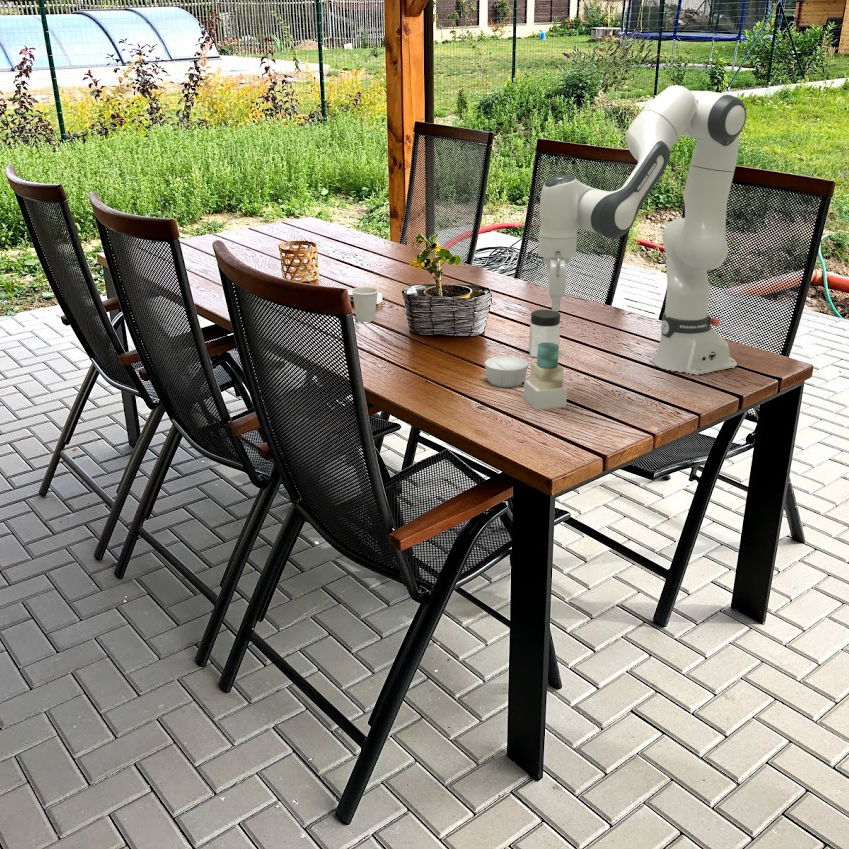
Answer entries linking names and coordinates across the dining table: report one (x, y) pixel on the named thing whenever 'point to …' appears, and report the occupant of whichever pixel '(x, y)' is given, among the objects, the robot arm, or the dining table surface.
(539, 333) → the jar
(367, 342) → the dining table surface
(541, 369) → the birch top block
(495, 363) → the ramekin
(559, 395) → the grey base block
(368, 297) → the dixie cup
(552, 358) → the teal cylinder
